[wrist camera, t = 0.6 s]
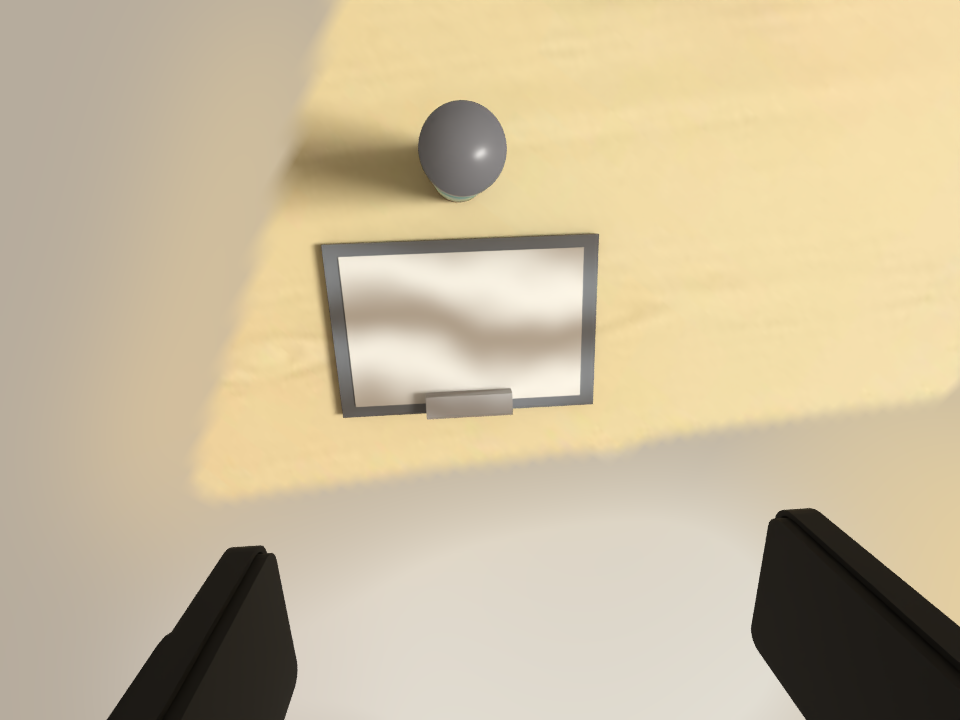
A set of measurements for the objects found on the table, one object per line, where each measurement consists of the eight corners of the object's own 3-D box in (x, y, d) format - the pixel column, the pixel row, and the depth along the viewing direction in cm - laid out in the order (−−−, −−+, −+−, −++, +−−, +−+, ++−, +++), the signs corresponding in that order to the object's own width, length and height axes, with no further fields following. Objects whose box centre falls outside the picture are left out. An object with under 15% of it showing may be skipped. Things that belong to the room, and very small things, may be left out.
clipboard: (323, 244, 31) (316, 246, 30) (596, 233, 32) (604, 234, 30) (345, 414, 35) (339, 424, 33) (590, 401, 35) (597, 409, 34)
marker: (429, 145, 30) (414, 101, 18) (485, 143, 30) (505, 98, 19) (432, 204, 31) (421, 197, 19) (486, 202, 31) (507, 194, 20)
